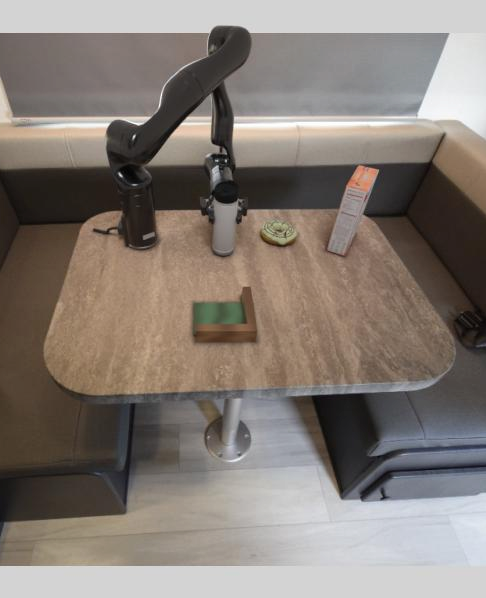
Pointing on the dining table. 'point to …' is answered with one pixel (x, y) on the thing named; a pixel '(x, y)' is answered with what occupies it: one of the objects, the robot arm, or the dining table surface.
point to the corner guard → (226, 320)
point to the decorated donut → (278, 232)
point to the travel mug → (225, 217)
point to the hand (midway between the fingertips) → (225, 221)
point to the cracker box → (351, 209)
